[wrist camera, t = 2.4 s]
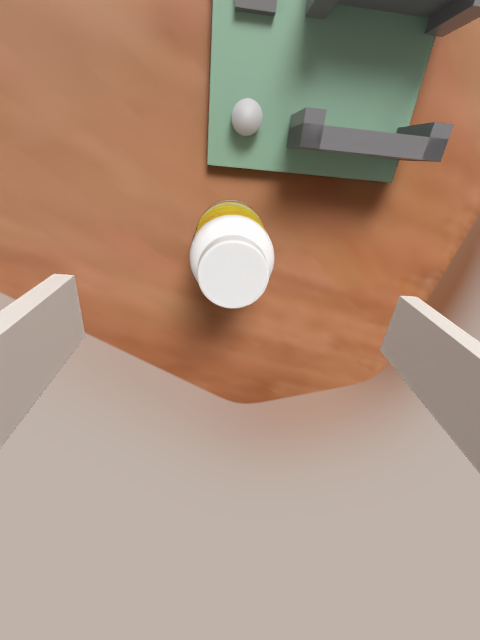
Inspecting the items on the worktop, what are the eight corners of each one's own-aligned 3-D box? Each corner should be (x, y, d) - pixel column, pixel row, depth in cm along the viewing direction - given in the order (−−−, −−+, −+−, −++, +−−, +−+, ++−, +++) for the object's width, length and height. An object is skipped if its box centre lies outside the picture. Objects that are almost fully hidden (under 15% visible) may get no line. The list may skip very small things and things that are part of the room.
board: (207, 164, 23) (206, 165, 21) (216, -77, 17) (215, -104, 15) (386, 181, 24) (400, 184, 22) (450, -37, 18) (474, -58, 16)
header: (286, 147, 22) (299, 146, 18) (314, -50, 17) (339, -106, 13) (404, 160, 23) (440, 161, 19) (460, -25, 18) (523, -71, 14)
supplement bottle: (186, 210, 24) (168, 242, 16) (253, 190, 24) (271, 211, 15) (208, 273, 27) (203, 329, 18) (268, 255, 26) (292, 305, 18)
